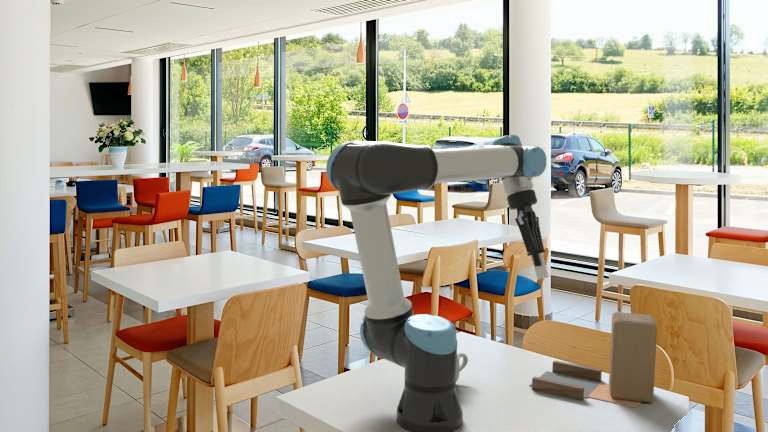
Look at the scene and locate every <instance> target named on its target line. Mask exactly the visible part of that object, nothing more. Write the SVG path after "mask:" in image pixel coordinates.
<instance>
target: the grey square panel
mask: <svg viewBox="0 0 768 432" xmlns="http://www.w3.org/2000/svg"><path fill="white" fill-rule="evenodd" d="M538 377H539V378H543V379H548V380H553V381H558V382H562V383H567V384H572V385H577V386H582V387H584V399H587V398H589V397H588V396H589V395H590V394H591V392H592V391H593V390H594V389H595V388H596V387H597V386H598V385H599V384H600V383H601V384H602V382H601V381H600V382H598V381H593V380H588V379H583V378H578V377H573V376H568V375H563V374H558V373H553V372H552V371H548V370H545V372H544V373H542V375H540V376H538ZM528 387H532V382H531V383H530V384H529V385H528Z"/></svg>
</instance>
